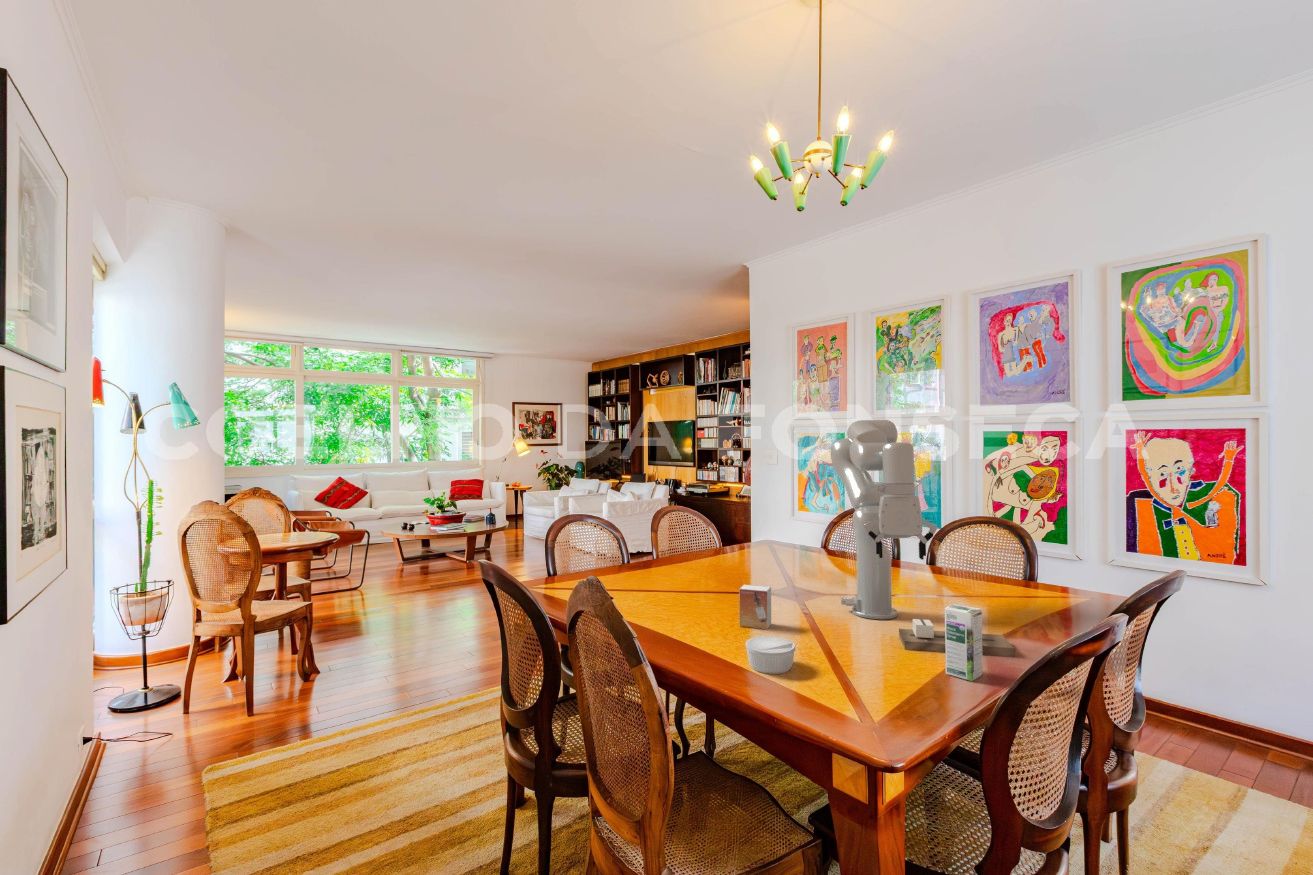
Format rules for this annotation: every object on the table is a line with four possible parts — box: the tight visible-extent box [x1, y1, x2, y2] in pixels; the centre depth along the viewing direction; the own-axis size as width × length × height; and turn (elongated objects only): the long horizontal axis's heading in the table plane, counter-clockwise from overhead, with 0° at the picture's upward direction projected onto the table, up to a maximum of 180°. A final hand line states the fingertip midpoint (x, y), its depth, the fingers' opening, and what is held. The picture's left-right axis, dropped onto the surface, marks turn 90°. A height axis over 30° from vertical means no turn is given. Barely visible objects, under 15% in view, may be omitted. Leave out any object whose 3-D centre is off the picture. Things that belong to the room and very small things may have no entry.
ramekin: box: [745, 635, 796, 675], centre depth 136 cm, size 11×11×5 cm
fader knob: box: [912, 618, 935, 638], centre depth 149 cm, size 4×5×3 cm
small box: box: [738, 584, 772, 630], centre depth 167 cm, size 8×6×10 cm
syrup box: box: [944, 603, 984, 682], centre depth 130 cm, size 6×6×14 cm
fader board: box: [898, 628, 1016, 658], centre depth 148 cm, size 24×10×2 cm, turn 76°
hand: (900, 557), depth 153 cm, fingers open, 9 cm apart
